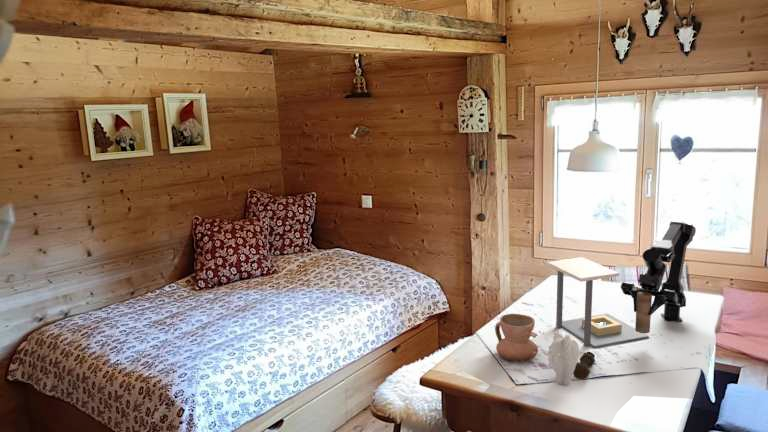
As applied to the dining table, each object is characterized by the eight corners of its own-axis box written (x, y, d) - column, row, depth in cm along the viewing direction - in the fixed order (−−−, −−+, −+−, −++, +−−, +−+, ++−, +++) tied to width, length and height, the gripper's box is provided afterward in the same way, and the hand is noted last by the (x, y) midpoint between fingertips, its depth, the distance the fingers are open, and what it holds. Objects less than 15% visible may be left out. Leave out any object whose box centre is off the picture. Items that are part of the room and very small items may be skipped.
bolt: (592, 365, 202) (582, 383, 190) (579, 356, 204) (568, 373, 192) (601, 354, 200) (591, 370, 187) (588, 344, 202) (578, 360, 189)
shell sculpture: (553, 373, 194) (555, 323, 190) (578, 380, 189) (580, 328, 185) (545, 384, 187) (546, 332, 183) (571, 391, 182) (572, 338, 179)
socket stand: (607, 315, 240) (610, 252, 235) (648, 337, 218) (653, 268, 212) (543, 326, 232) (545, 261, 226) (580, 350, 210) (582, 279, 204)
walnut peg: (633, 327, 212) (635, 291, 209) (647, 328, 211) (650, 291, 208) (636, 333, 208) (639, 296, 205) (651, 333, 207) (653, 296, 204)
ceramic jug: (549, 358, 205) (549, 320, 202) (522, 370, 196) (522, 331, 194) (509, 343, 219) (509, 307, 216) (483, 354, 210) (482, 317, 208)
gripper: (623, 260, 213) (610, 297, 208) (677, 269, 201) (665, 309, 195) (630, 275, 221) (618, 311, 215) (683, 285, 208) (671, 323, 203)
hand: (642, 313), depth 207 cm, fingers closed on walnut peg, 5 cm apart
